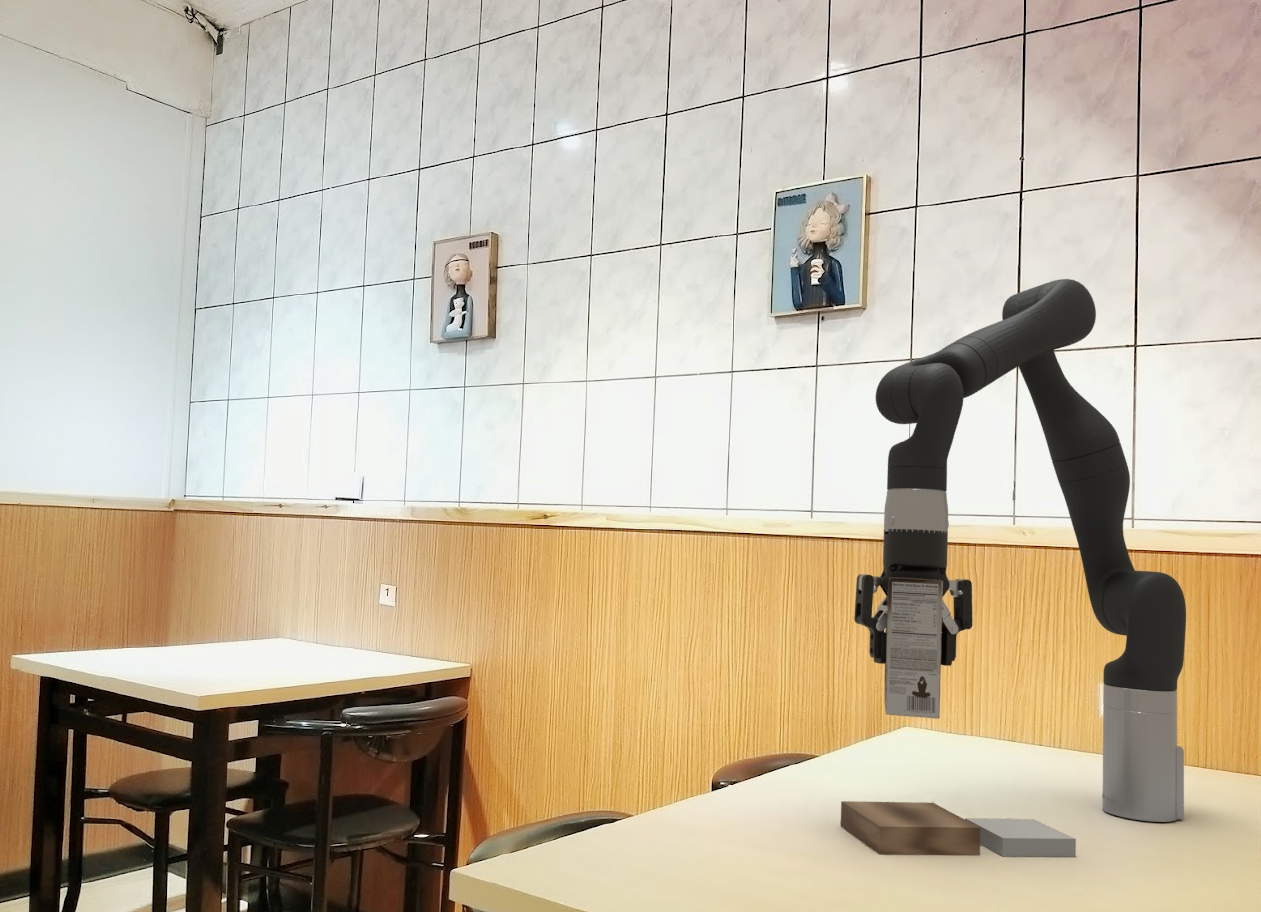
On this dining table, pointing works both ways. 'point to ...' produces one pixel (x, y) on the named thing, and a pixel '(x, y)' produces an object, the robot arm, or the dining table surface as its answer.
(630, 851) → the dining table surface
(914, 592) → the coffee box
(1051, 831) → the grey coaster
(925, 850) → the walnut base
